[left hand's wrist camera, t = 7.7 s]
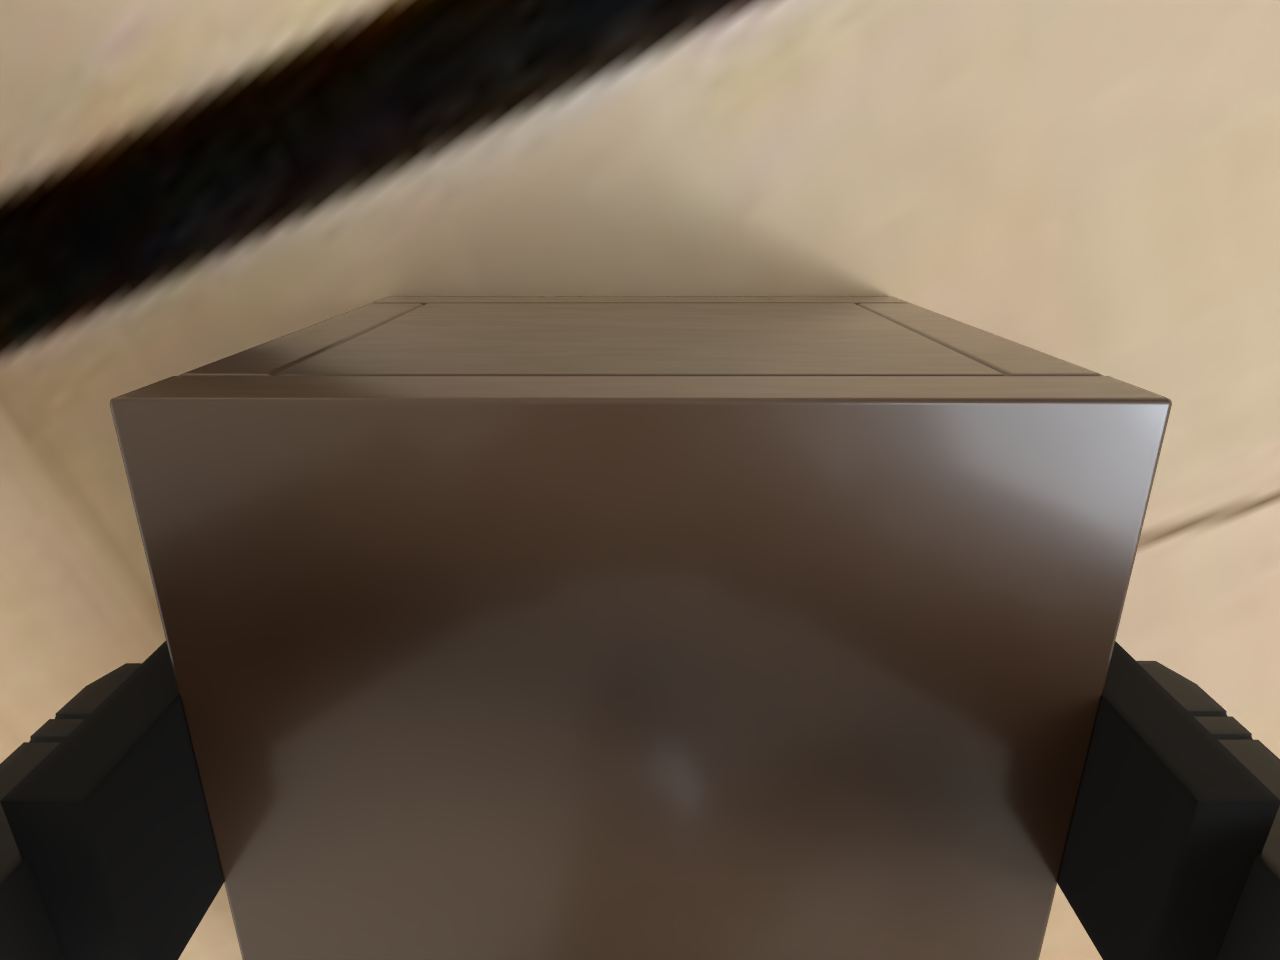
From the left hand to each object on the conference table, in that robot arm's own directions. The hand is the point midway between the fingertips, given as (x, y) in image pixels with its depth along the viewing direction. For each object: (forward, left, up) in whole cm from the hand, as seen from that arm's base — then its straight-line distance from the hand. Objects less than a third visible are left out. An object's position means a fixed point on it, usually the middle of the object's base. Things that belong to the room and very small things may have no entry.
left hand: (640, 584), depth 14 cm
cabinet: (+5, +1, -3) cm, 6 cm away
